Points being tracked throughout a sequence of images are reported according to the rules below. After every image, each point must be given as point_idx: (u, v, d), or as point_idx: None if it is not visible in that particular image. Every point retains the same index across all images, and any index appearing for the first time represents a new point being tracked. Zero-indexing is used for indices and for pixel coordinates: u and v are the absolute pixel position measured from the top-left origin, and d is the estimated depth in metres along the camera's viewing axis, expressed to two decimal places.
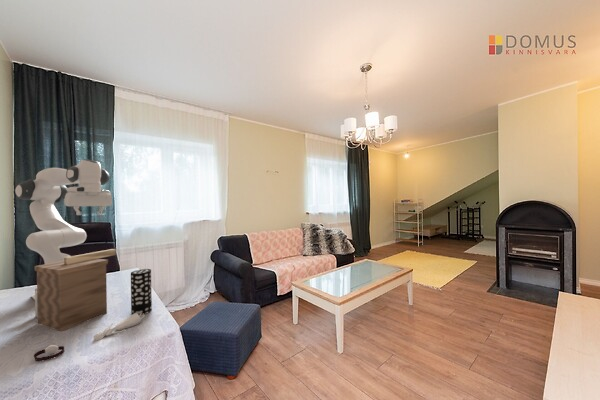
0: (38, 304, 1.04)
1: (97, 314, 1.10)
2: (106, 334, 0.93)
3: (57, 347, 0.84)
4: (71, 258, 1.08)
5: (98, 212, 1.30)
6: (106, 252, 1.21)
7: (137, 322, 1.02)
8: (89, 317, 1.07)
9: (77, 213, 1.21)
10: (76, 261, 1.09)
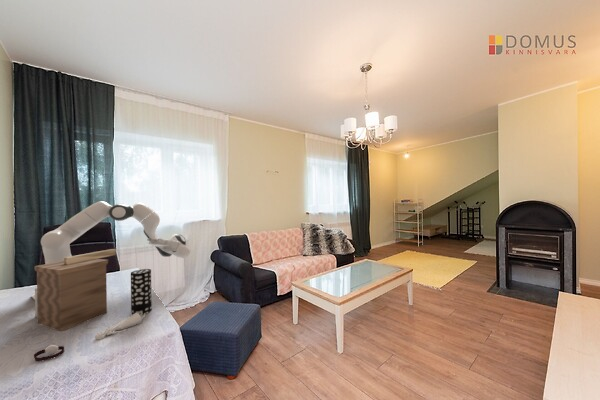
0: (38, 304, 1.04)
1: (97, 314, 1.10)
2: (107, 333, 0.94)
3: (57, 347, 0.84)
4: (71, 258, 1.08)
5: (150, 239, 1.49)
6: (106, 252, 1.21)
7: (138, 322, 1.02)
8: (89, 317, 1.07)
9: (160, 240, 1.45)
10: (76, 261, 1.09)
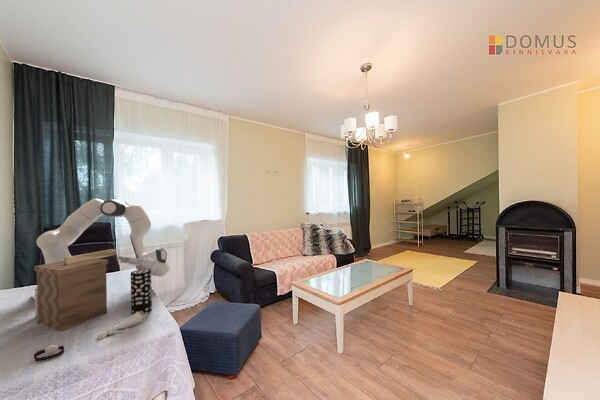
0: (38, 304, 1.04)
1: (97, 314, 1.10)
2: (109, 333, 0.94)
3: (57, 347, 0.84)
4: (71, 258, 1.08)
5: (120, 258, 1.32)
6: (106, 252, 1.21)
7: (139, 321, 1.03)
8: (89, 317, 1.07)
9: (131, 259, 1.29)
10: (76, 261, 1.09)
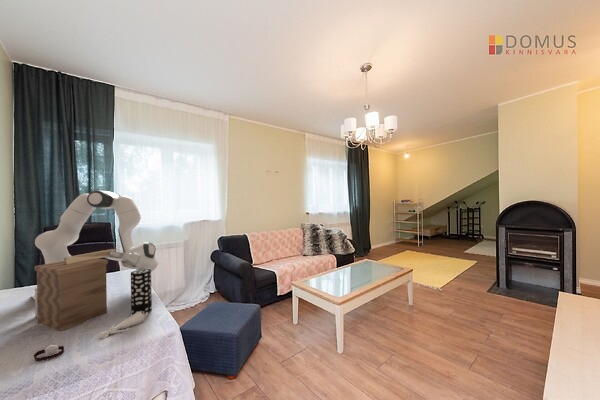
0: (38, 304, 1.04)
1: (97, 314, 1.10)
2: (111, 332, 0.94)
3: (57, 347, 0.84)
4: (71, 258, 1.08)
5: None
6: (106, 252, 1.21)
7: (140, 320, 1.03)
8: (89, 317, 1.07)
9: (112, 253, 1.22)
10: (76, 261, 1.09)
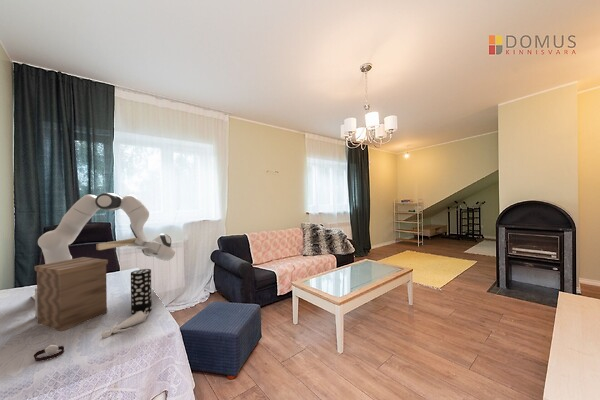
0: (38, 304, 1.04)
1: (97, 314, 1.10)
2: (113, 332, 0.95)
3: (57, 347, 0.84)
4: (102, 244, 1.19)
5: None
6: (131, 240, 1.33)
7: (142, 320, 1.04)
8: (89, 317, 1.07)
9: (136, 241, 1.34)
10: (106, 247, 1.21)
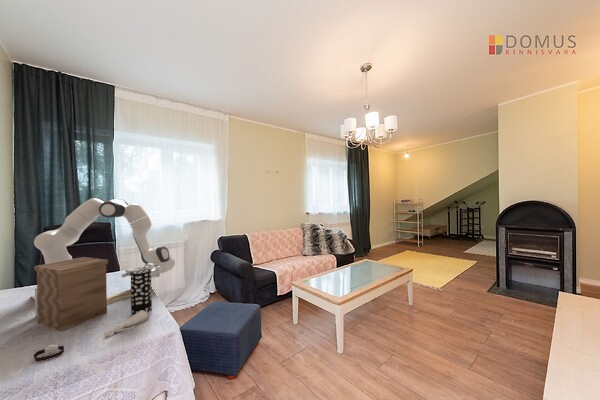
0: (38, 304, 1.04)
1: (97, 314, 1.10)
2: (116, 331, 0.96)
3: (57, 347, 0.84)
4: None
5: (125, 275, 1.37)
6: None
7: (144, 319, 1.05)
8: (89, 317, 1.07)
9: None
10: (110, 302, 1.25)
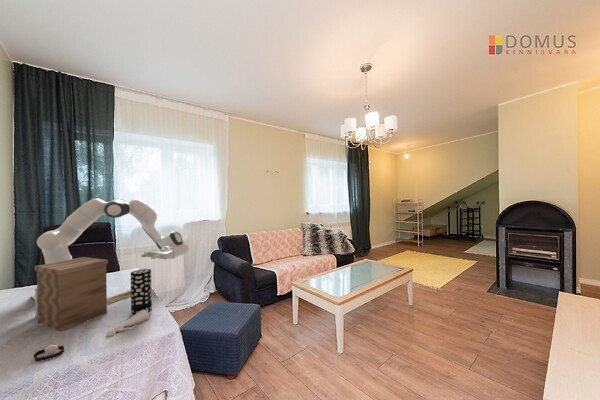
0: (38, 304, 1.04)
1: (97, 314, 1.10)
2: (118, 330, 0.96)
3: (57, 347, 0.84)
4: None
5: (144, 256, 1.48)
6: None
7: (146, 318, 1.05)
8: (89, 317, 1.07)
9: (154, 257, 1.45)
10: (109, 302, 1.25)
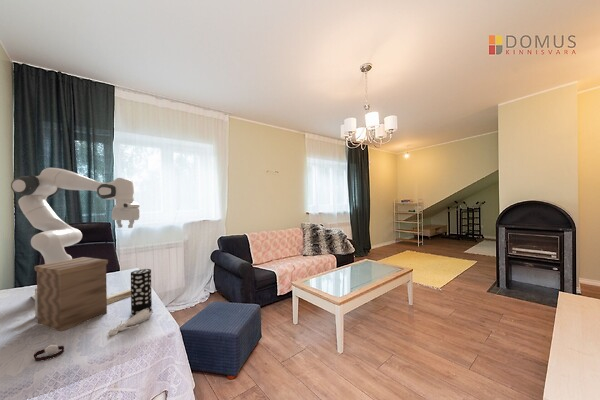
0: (38, 304, 1.04)
1: (97, 314, 1.10)
2: (120, 329, 0.96)
3: (57, 347, 0.84)
4: None
5: (120, 225, 1.41)
6: None
7: (147, 317, 1.06)
8: (89, 317, 1.07)
9: (131, 226, 1.38)
10: (109, 302, 1.25)
